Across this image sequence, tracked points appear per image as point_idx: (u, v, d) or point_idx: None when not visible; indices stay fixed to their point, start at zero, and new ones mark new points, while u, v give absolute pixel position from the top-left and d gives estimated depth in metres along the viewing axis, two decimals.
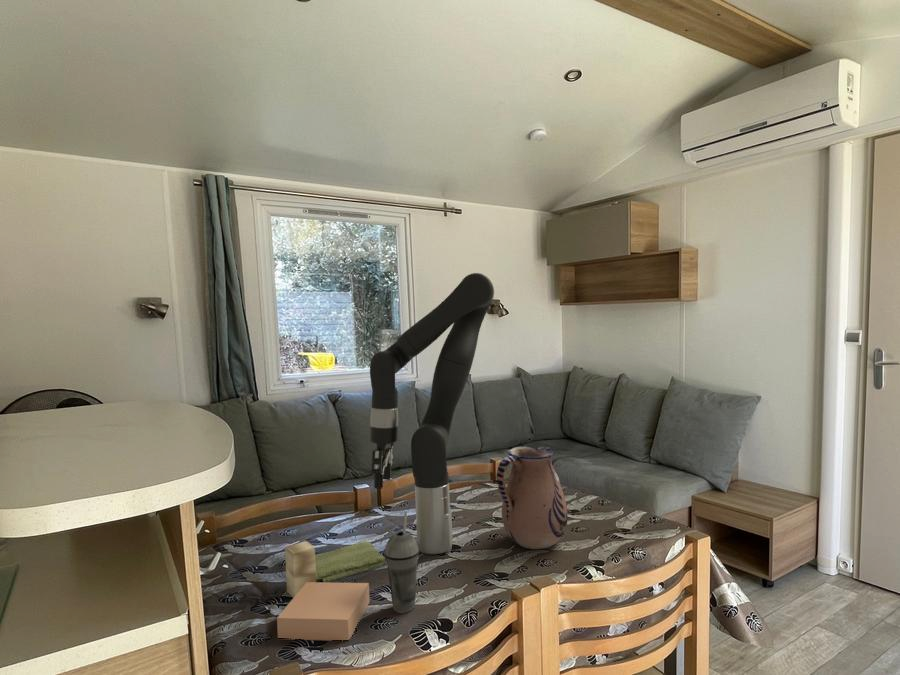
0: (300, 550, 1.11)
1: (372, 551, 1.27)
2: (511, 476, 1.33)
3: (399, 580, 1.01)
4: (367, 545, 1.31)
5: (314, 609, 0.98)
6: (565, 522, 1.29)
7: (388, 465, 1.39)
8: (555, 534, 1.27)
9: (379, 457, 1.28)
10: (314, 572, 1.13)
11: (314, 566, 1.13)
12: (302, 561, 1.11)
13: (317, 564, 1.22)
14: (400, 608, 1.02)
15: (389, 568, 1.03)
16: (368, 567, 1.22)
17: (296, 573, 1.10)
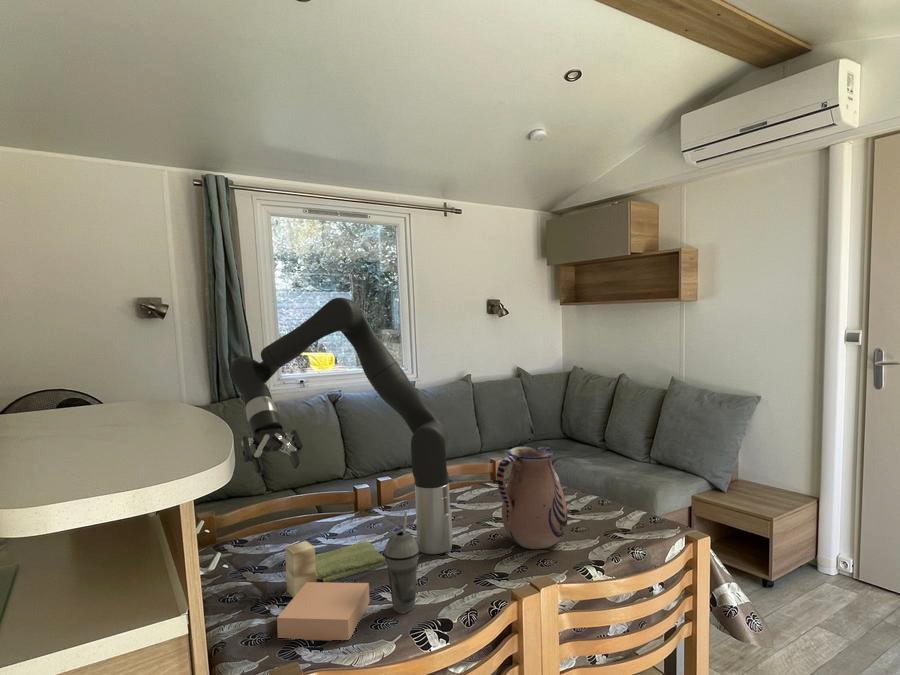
0: (300, 550, 1.11)
1: (372, 551, 1.27)
2: (511, 476, 1.33)
3: (399, 580, 1.01)
4: (368, 545, 1.31)
5: (314, 609, 0.98)
6: (565, 522, 1.29)
7: (291, 452, 1.27)
8: (555, 534, 1.27)
9: (243, 442, 1.23)
10: (314, 572, 1.13)
11: (314, 566, 1.13)
12: (302, 561, 1.11)
13: (317, 564, 1.22)
14: (400, 608, 1.02)
15: (389, 568, 1.03)
16: (368, 567, 1.22)
17: (296, 573, 1.10)
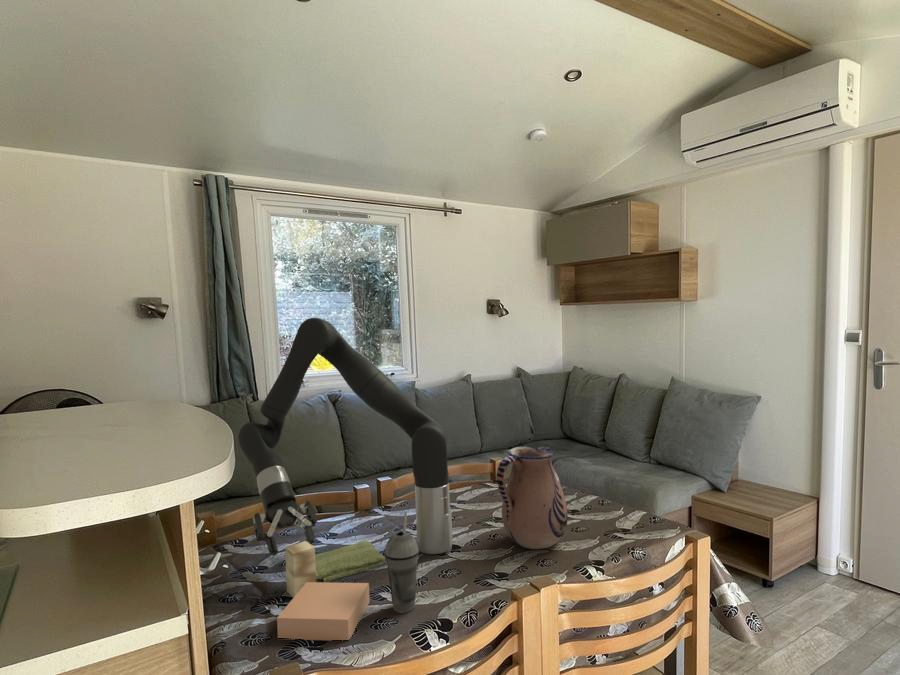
0: (300, 550, 1.11)
1: (372, 550, 1.27)
2: (511, 476, 1.33)
3: (399, 580, 1.01)
4: (368, 544, 1.31)
5: (314, 609, 0.98)
6: (565, 522, 1.29)
7: (306, 527, 1.21)
8: (555, 534, 1.27)
9: (255, 520, 1.16)
10: (314, 572, 1.13)
11: (314, 566, 1.13)
12: (301, 561, 1.11)
13: (317, 564, 1.22)
14: (400, 608, 1.02)
15: (389, 568, 1.03)
16: (368, 566, 1.23)
17: (296, 573, 1.10)
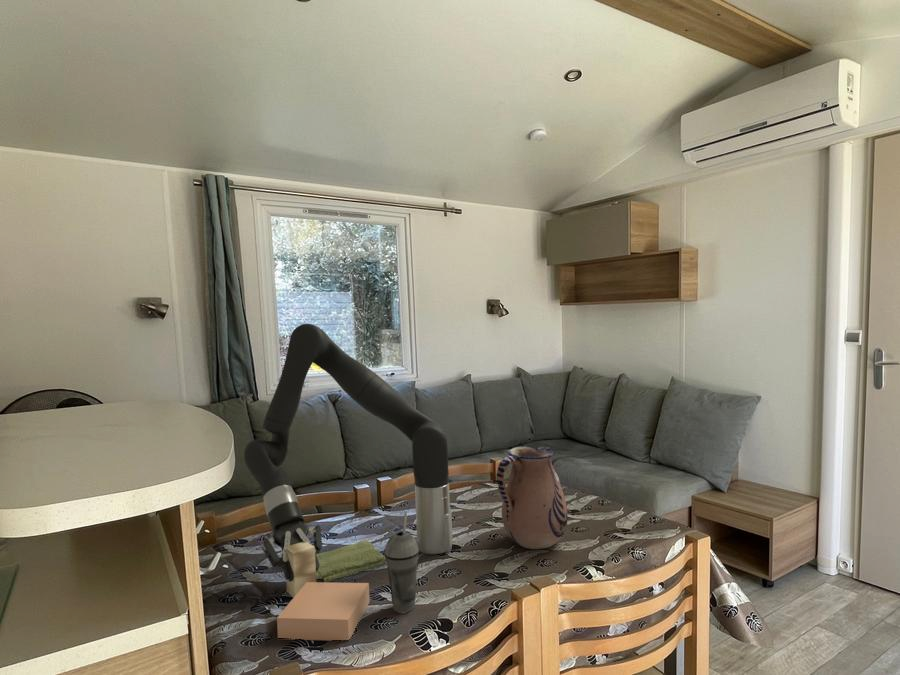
0: (300, 550, 1.11)
1: (372, 550, 1.28)
2: (511, 476, 1.33)
3: (399, 580, 1.01)
4: (368, 544, 1.32)
5: (314, 609, 0.98)
6: (565, 522, 1.29)
7: None
8: (555, 534, 1.27)
9: (265, 547, 1.12)
10: (314, 572, 1.13)
11: (314, 565, 1.13)
12: (301, 561, 1.11)
13: None
14: (400, 608, 1.02)
15: (389, 568, 1.03)
16: (369, 566, 1.23)
17: (296, 573, 1.10)
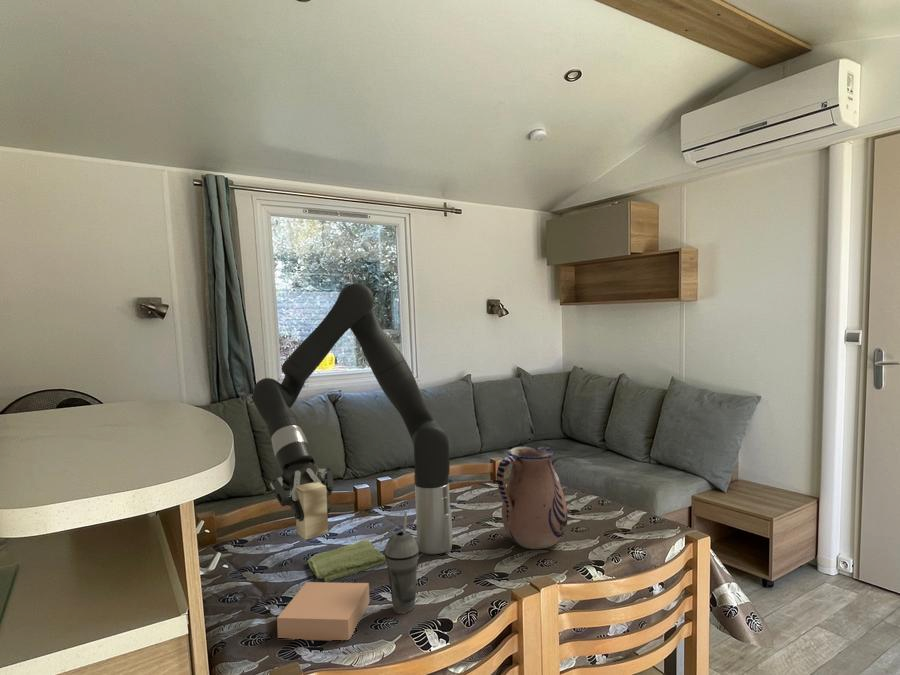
0: (311, 488, 1.04)
1: (372, 550, 1.28)
2: (511, 476, 1.33)
3: (399, 580, 1.01)
4: (368, 544, 1.32)
5: (314, 609, 0.98)
6: (565, 522, 1.29)
7: None
8: (555, 534, 1.27)
9: (274, 486, 1.05)
10: (325, 512, 1.05)
11: (326, 505, 1.06)
12: (312, 500, 1.04)
13: (318, 563, 1.23)
14: (400, 608, 1.02)
15: (389, 568, 1.03)
16: (369, 565, 1.23)
17: (306, 512, 1.03)
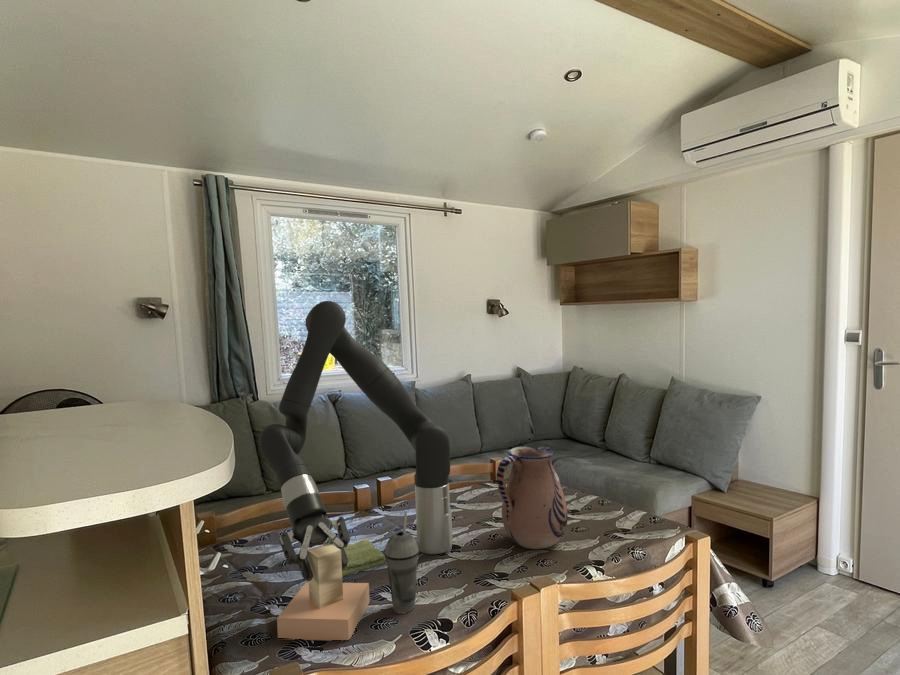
0: (325, 553, 0.99)
1: (373, 549, 1.28)
2: (511, 476, 1.33)
3: (399, 580, 1.01)
4: (368, 543, 1.32)
5: (314, 609, 0.98)
6: (565, 522, 1.29)
7: None
8: (555, 534, 1.27)
9: (283, 541, 1.00)
10: (340, 578, 1.01)
11: (341, 570, 1.01)
12: (327, 566, 0.99)
13: None
14: (400, 608, 1.02)
15: (389, 568, 1.03)
16: (369, 565, 1.23)
17: (321, 579, 0.98)
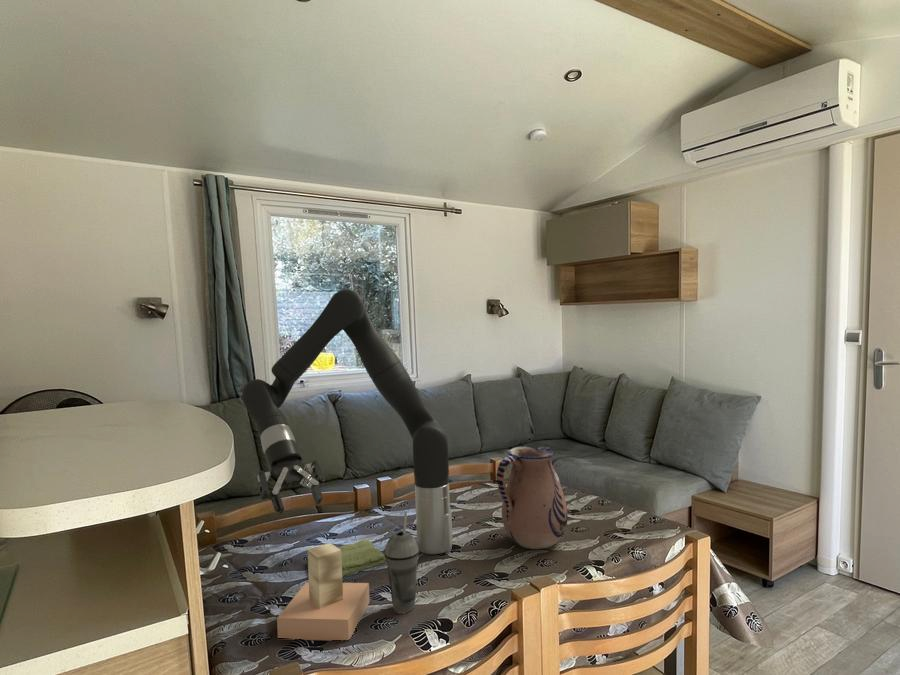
0: (326, 553, 0.99)
1: (373, 549, 1.28)
2: (511, 476, 1.33)
3: (399, 580, 1.01)
4: (368, 543, 1.32)
5: (314, 609, 0.98)
6: (565, 522, 1.29)
7: (313, 486, 1.15)
8: (555, 534, 1.27)
9: (259, 478, 1.10)
10: (340, 578, 1.01)
11: (341, 570, 1.01)
12: (327, 566, 0.99)
13: None
14: (400, 608, 1.02)
15: (389, 568, 1.03)
16: (370, 565, 1.23)
17: (321, 579, 0.98)
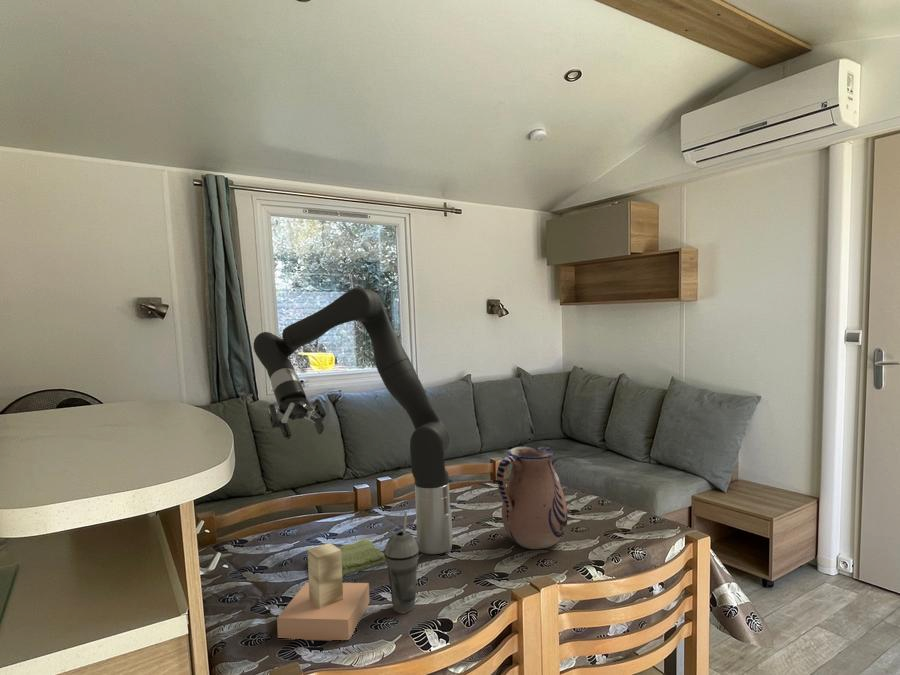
0: (326, 553, 0.99)
1: (373, 548, 1.29)
2: (511, 476, 1.33)
3: (399, 580, 1.01)
4: (368, 543, 1.32)
5: (314, 609, 0.98)
6: (565, 522, 1.29)
7: (316, 419, 1.33)
8: (555, 534, 1.27)
9: (270, 410, 1.29)
10: (340, 578, 1.01)
11: (341, 570, 1.01)
12: (327, 566, 0.99)
13: None
14: (400, 608, 1.02)
15: (389, 568, 1.03)
16: (370, 564, 1.24)
17: (321, 579, 0.98)
